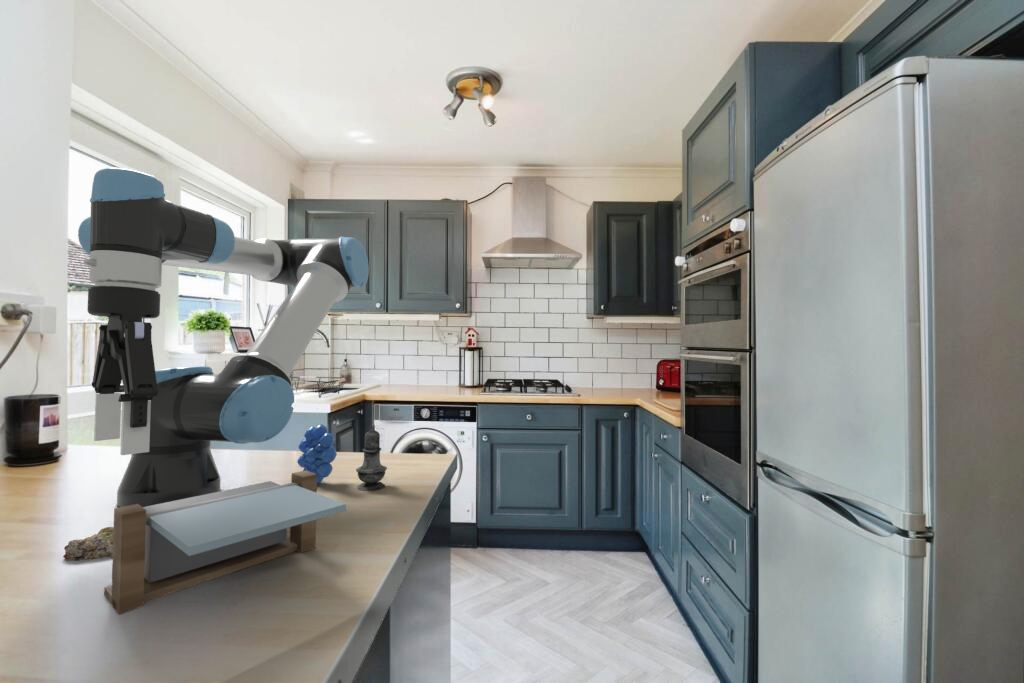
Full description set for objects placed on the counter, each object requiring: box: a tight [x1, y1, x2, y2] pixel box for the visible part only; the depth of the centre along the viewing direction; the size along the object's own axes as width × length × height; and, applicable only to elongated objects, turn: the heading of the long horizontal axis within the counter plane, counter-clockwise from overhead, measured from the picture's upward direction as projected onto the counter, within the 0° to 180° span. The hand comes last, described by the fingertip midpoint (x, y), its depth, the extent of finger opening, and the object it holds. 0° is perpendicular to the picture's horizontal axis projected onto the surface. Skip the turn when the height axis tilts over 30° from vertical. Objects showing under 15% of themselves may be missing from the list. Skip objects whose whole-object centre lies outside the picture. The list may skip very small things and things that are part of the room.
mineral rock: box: [62, 526, 114, 562], centre depth 63 cm, size 11×4×8 cm
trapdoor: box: [143, 480, 347, 583], centre depth 55 cm, size 18×16×8 cm
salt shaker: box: [355, 425, 388, 492], centre depth 93 cm, size 6×6×12 cm
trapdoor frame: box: [103, 470, 318, 615], centre depth 58 cm, size 6×21×10 cm, turn 142°
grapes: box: [296, 424, 338, 485], centre depth 95 cm, size 12×7×12 cm, turn 53°
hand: (120, 446), depth 63 cm, fingers open, 13 cm apart
